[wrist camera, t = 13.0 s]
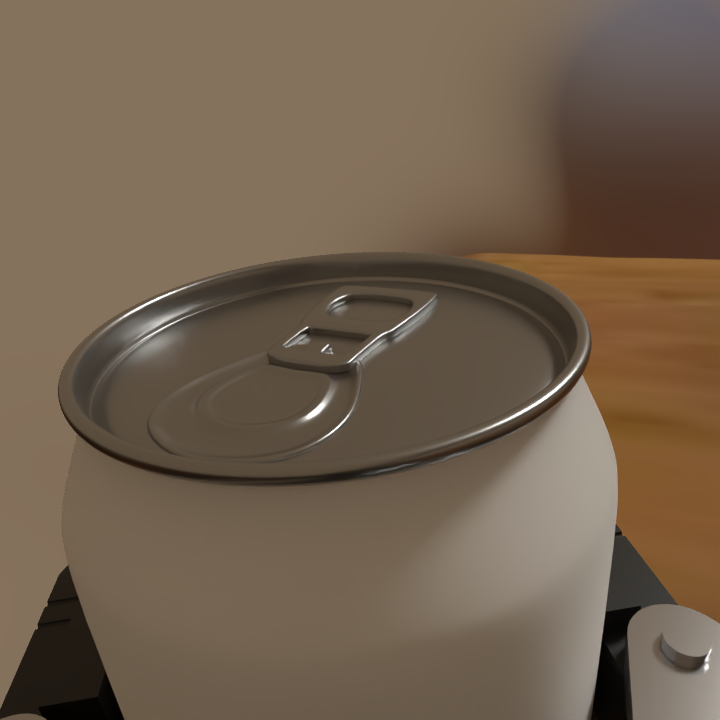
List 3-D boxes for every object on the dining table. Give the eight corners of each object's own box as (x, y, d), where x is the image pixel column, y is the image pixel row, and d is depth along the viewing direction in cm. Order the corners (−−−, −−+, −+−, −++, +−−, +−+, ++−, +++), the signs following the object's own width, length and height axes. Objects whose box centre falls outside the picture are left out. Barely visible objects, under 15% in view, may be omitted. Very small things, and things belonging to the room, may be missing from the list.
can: (152, 984, 11) (-148, 413, 6) (327, 680, 16) (258, 236, 11) (511, 1269, 8) (589, 653, 3) (583, 788, 13) (658, 254, 8)
